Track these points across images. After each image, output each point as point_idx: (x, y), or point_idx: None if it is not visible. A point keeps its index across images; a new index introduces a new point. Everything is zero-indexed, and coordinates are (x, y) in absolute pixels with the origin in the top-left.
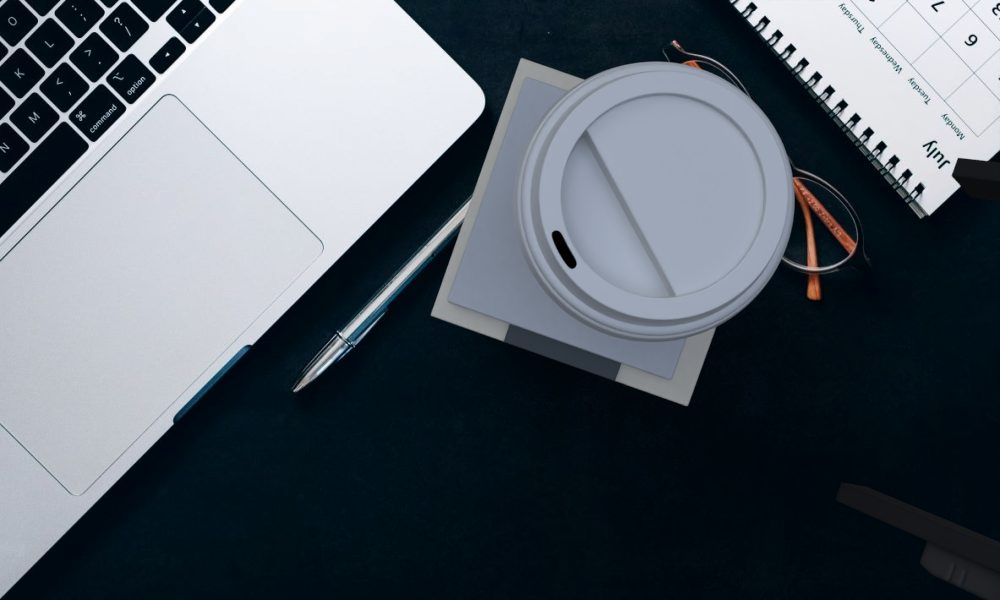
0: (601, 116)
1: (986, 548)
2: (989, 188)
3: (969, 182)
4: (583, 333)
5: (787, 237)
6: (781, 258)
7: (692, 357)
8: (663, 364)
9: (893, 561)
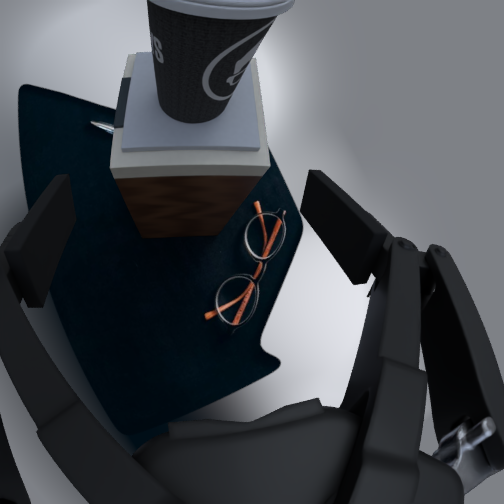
0: None
1: (27, 231)
2: (313, 195)
3: (310, 182)
4: (135, 101)
5: (228, 1)
6: (213, 7)
7: (138, 159)
8: (128, 141)
9: (111, 398)
